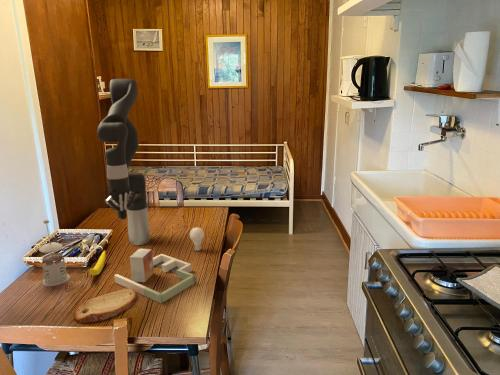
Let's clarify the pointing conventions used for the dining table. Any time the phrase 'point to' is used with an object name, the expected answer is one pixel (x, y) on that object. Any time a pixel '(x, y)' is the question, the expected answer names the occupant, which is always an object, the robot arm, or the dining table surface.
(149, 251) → the small box
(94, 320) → the bread slice
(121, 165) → the robot arm
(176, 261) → the channel
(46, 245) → the french press
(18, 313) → the dining table surface
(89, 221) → the dining table surface
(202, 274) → the dining table surface
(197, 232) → the lightbulb
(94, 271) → the banana
